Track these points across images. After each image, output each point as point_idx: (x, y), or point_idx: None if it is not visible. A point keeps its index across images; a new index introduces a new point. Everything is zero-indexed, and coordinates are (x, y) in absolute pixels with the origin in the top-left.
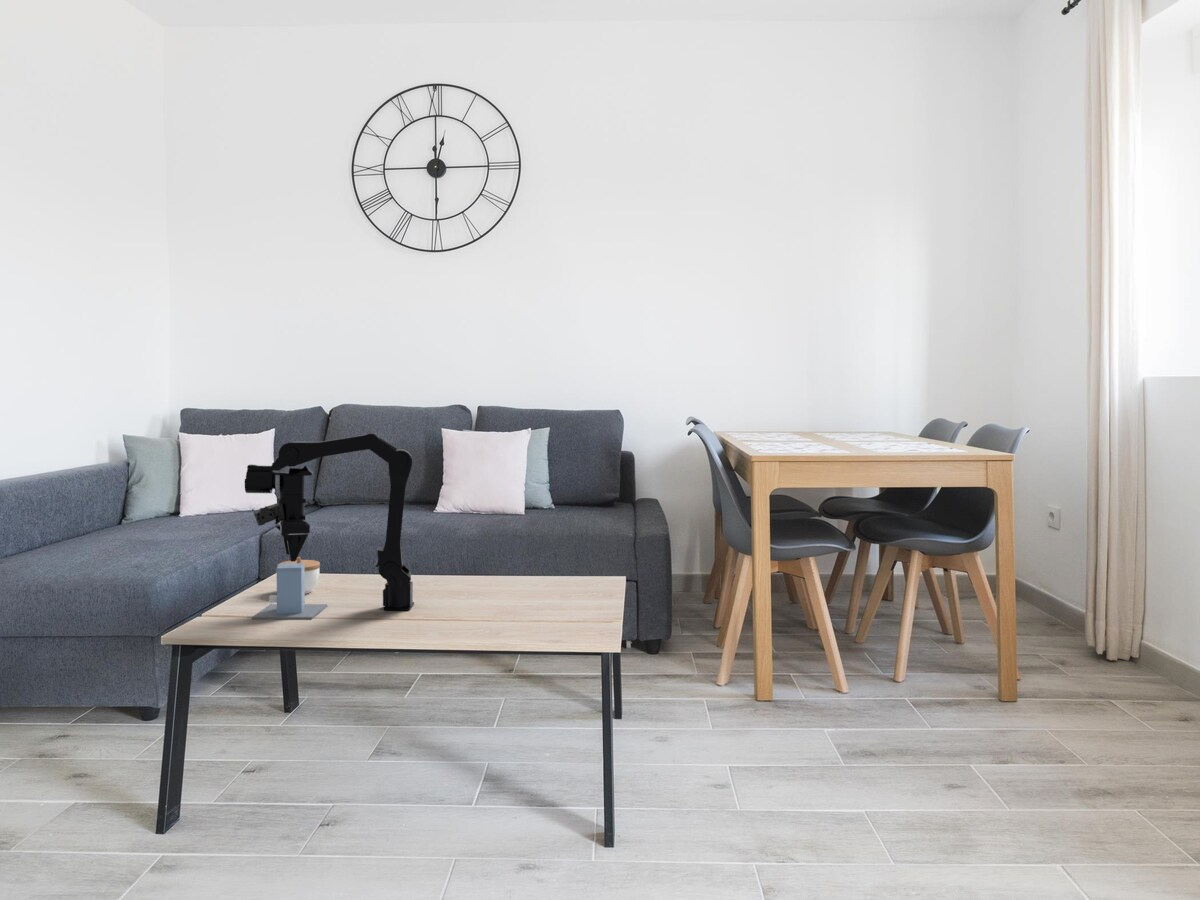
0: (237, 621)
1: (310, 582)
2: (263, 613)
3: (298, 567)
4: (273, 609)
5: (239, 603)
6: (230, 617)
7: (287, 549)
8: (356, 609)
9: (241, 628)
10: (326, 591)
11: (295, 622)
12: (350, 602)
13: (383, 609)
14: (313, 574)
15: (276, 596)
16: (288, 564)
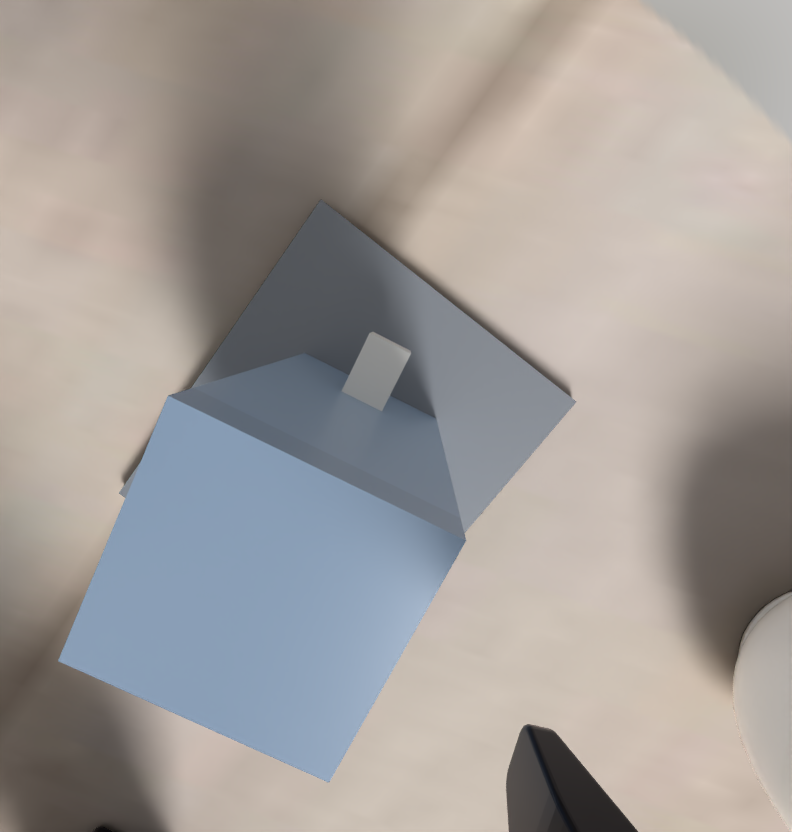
0: (319, 106)
1: (742, 740)
2: (362, 287)
3: (80, 637)
4: (426, 370)
5: (785, 254)
6: (447, 94)
7: (537, 814)
8: (205, 738)
9: (136, 79)
10: (708, 772)
11: (108, 392)
12: (369, 771)
13: (99, 828)
14: (778, 811)
15: (351, 381)
16: (350, 607)
